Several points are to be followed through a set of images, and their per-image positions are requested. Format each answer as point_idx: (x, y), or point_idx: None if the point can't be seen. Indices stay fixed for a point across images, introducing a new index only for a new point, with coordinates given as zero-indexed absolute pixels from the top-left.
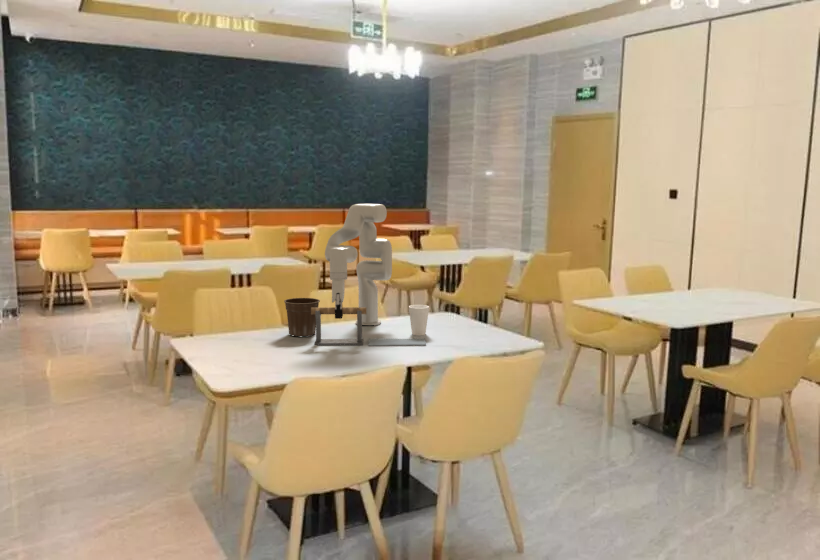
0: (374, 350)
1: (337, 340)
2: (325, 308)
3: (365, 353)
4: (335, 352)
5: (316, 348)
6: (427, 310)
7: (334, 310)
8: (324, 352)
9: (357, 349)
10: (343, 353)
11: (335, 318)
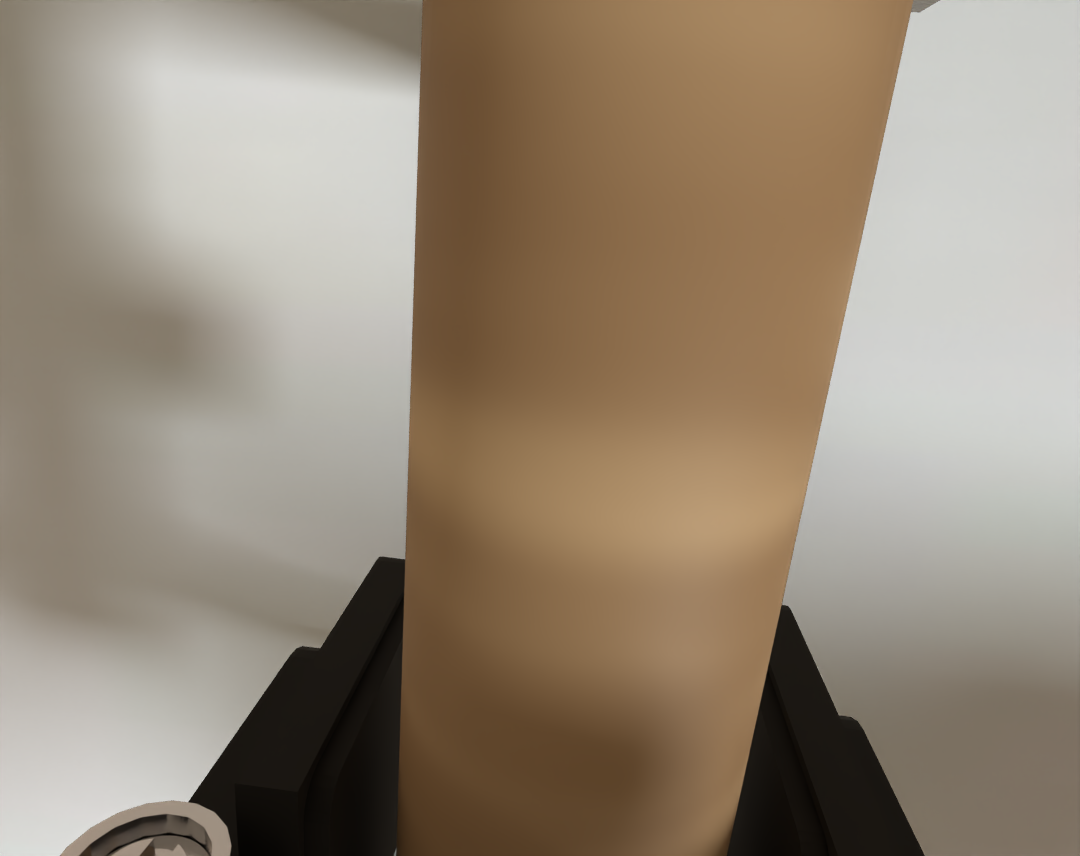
0: (181, 786)
1: None
2: (485, 252)
3: (37, 685)
4: (45, 343)
5: (268, 45)
6: None
7: (403, 721)
8: (27, 183)
9: (222, 623)
10: (5, 444)
11: (387, 563)
